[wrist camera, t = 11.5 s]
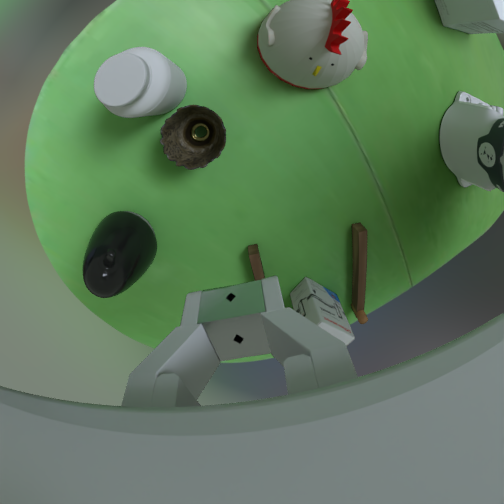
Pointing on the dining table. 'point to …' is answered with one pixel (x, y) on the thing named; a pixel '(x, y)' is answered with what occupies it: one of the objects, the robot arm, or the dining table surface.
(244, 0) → the dining table surface
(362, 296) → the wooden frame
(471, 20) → the supplement box
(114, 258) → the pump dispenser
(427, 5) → the dining table surface
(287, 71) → the kitchen timer
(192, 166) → the cup
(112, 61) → the pill bottle
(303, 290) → the ink box
